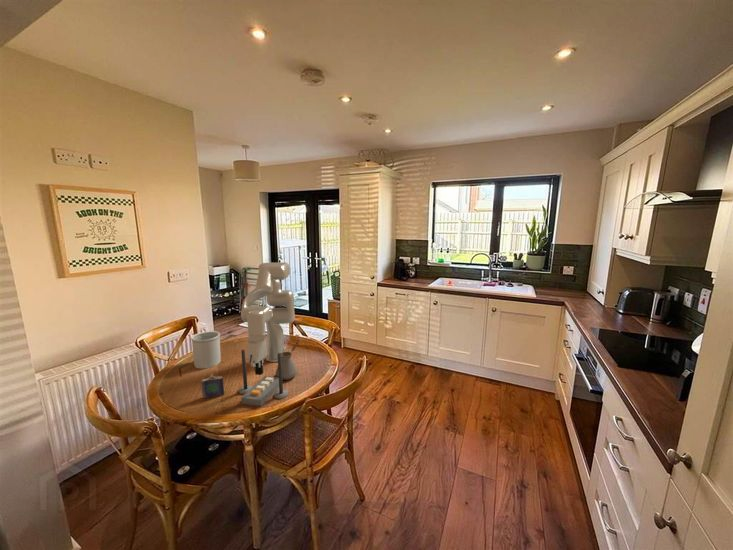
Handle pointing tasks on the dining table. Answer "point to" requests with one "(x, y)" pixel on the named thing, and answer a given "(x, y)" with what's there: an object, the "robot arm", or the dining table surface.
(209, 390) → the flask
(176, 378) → the dining table surface
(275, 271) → the robot arm
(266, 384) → the breaker strip
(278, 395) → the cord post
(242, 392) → the post
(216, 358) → the utensil holder
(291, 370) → the coffee pot
